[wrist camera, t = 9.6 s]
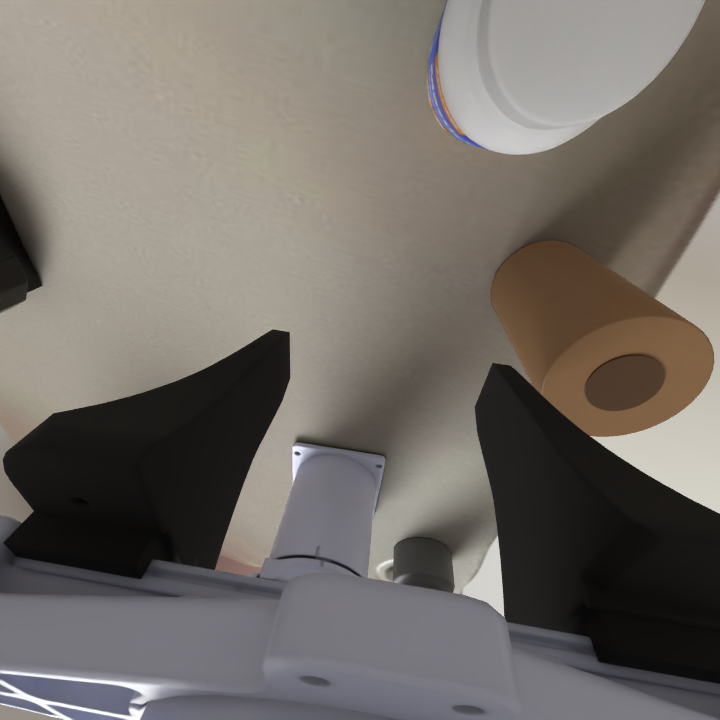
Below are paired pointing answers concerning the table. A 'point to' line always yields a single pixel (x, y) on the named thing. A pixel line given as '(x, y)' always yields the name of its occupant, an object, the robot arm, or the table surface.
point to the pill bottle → (546, 65)
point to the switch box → (13, 265)
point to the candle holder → (423, 564)
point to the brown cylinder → (598, 341)
